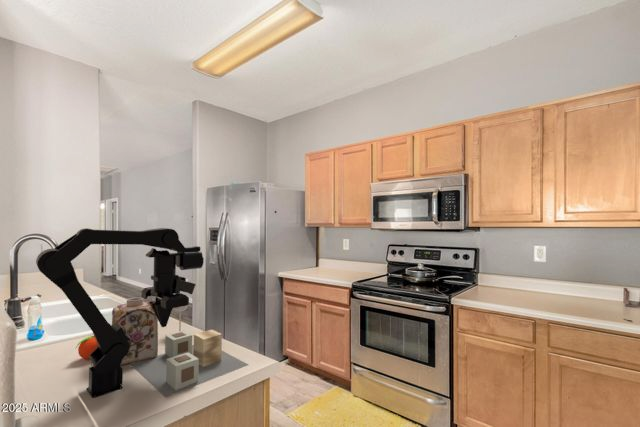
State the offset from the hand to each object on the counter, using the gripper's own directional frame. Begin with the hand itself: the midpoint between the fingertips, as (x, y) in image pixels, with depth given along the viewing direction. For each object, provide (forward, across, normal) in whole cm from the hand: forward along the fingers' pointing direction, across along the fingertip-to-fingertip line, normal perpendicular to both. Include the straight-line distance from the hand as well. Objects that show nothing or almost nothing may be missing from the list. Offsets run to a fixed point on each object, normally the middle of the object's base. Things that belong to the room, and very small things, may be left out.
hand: (163, 326), depth 92 cm
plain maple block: (+12, -3, -12) cm, 18 cm away
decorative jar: (+13, +17, +2) cm, 21 cm away
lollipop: (+13, +25, -16) cm, 33 cm away
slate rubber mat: (+13, -2, -7) cm, 15 cm away
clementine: (+13, +25, +12) cm, 31 cm away
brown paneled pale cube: (+12, +8, -8) cm, 17 cm away
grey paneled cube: (+12, -10, -1) cm, 16 cm away
